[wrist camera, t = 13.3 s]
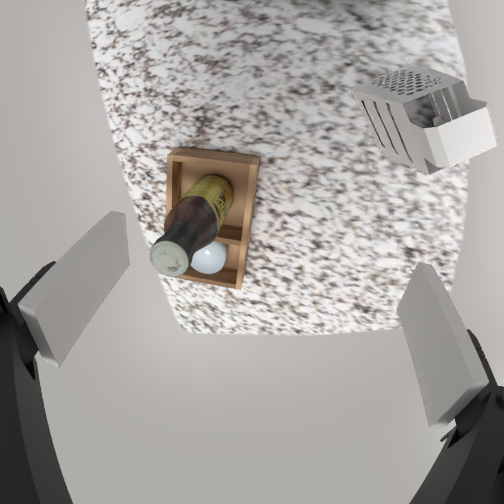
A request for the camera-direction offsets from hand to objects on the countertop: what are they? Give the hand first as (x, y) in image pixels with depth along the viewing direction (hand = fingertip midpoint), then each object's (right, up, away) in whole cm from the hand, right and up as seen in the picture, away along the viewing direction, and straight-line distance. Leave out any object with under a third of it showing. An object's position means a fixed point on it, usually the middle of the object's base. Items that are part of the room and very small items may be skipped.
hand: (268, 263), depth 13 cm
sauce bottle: (-6, +10, +33) cm, 35 cm away
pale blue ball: (-7, +1, +38) cm, 39 cm away
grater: (+20, +20, +24) cm, 37 cm away
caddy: (-7, +7, +36) cm, 37 cm away
